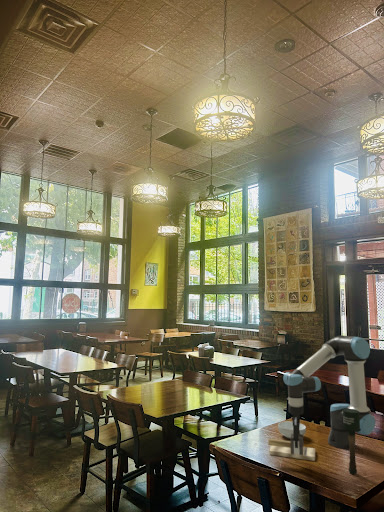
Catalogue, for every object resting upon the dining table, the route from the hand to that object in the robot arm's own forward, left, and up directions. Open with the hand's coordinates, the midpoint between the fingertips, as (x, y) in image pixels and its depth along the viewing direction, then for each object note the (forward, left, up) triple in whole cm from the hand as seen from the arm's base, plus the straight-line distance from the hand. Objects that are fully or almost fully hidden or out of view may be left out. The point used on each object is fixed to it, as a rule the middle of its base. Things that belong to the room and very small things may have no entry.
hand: (297, 451), depth 197 cm
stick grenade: (-27, -1, -7) cm, 28 cm away
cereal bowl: (+5, -44, -7) cm, 45 cm away
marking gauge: (+6, 0, 0) cm, 6 cm away
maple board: (+3, -16, -7) cm, 18 cm away
